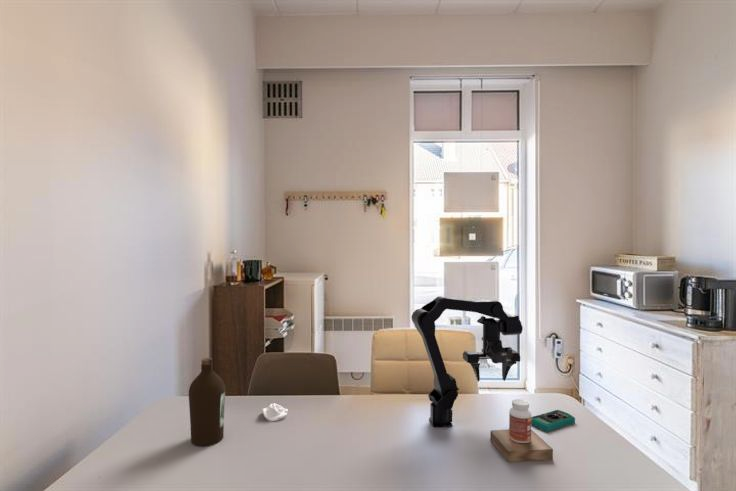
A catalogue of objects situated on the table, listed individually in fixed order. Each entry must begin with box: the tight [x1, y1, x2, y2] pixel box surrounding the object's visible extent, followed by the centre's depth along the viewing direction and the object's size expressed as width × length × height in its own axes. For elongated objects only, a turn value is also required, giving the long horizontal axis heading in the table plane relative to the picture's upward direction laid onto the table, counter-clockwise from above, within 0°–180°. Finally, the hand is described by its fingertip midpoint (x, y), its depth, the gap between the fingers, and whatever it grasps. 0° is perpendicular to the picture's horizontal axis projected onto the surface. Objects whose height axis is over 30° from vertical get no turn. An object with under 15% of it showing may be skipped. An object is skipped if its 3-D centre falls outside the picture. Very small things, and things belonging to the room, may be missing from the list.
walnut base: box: [489, 428, 554, 463], centre depth 126 cm, size 13×13×3 cm
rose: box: [261, 402, 289, 422], centre depth 150 cm, size 10×4×10 cm
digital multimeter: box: [531, 409, 576, 433], centre depth 144 cm, size 7×15×3 cm, turn 118°
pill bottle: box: [508, 398, 532, 443], centre depth 126 cm, size 6×6×11 cm
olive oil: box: [188, 357, 226, 447], centre depth 132 cm, size 11×11×25 cm
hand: (491, 380), depth 148 cm, fingers open, 9 cm apart
